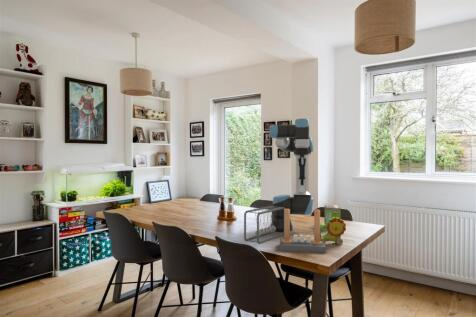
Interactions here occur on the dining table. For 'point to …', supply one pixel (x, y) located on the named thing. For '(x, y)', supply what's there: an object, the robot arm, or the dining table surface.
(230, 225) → the dining table surface
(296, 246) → the breaker board
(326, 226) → the toy lion
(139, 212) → the dining table surface
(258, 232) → the newton's cradle
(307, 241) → the breaker paddles
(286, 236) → the post
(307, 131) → the robot arm
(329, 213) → the tea box
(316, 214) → the post
